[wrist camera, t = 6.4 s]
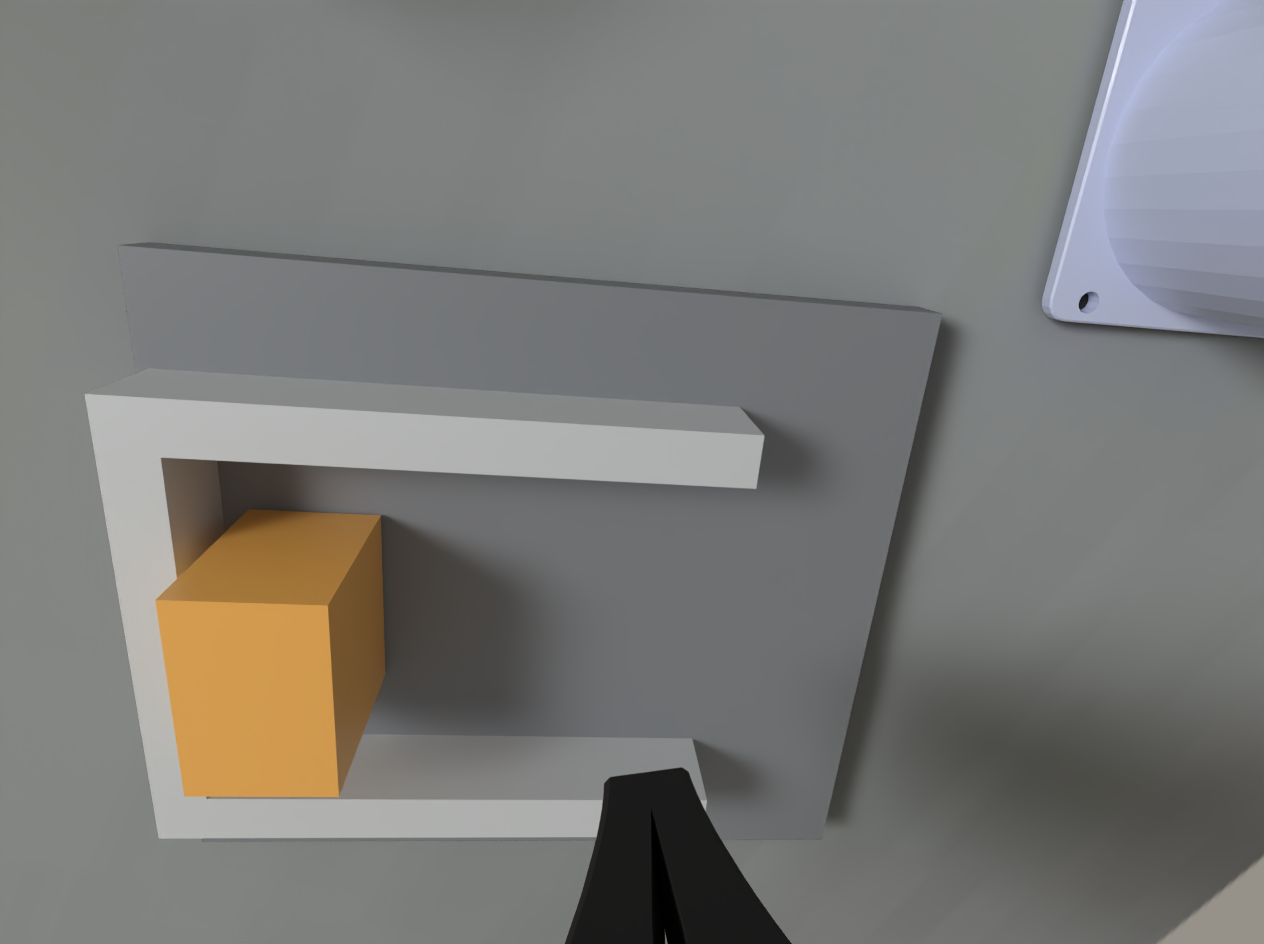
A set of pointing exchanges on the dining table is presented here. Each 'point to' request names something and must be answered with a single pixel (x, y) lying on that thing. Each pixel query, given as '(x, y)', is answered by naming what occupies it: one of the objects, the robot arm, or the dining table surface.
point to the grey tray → (526, 525)
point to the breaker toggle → (275, 654)
